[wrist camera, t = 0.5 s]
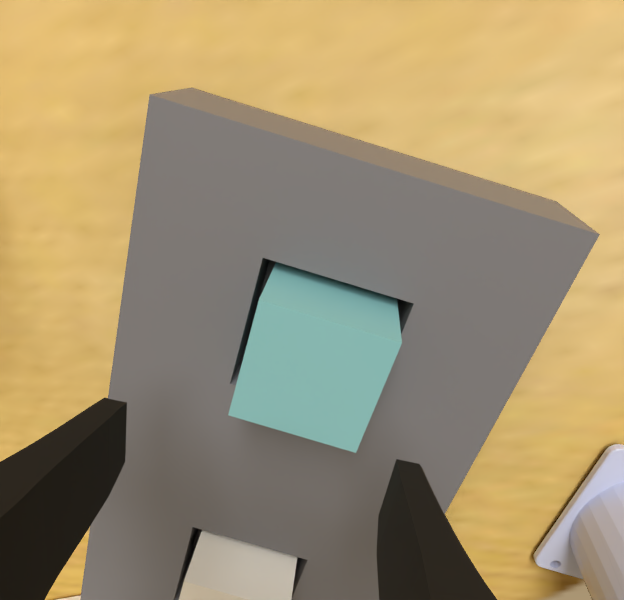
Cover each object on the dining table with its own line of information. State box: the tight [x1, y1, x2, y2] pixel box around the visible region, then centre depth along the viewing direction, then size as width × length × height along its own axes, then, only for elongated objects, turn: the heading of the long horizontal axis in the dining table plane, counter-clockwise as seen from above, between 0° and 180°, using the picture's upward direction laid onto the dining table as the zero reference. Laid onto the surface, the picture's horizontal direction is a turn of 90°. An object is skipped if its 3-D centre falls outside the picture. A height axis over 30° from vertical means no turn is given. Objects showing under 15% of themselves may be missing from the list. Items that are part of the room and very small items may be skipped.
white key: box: [179, 530, 297, 600], centre depth 23 cm, size 4×4×3 cm
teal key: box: [228, 262, 402, 453], centre depth 18 cm, size 4×4×3 cm
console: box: [80, 88, 599, 600], centre depth 23 cm, size 14×26×4 cm, turn 164°
